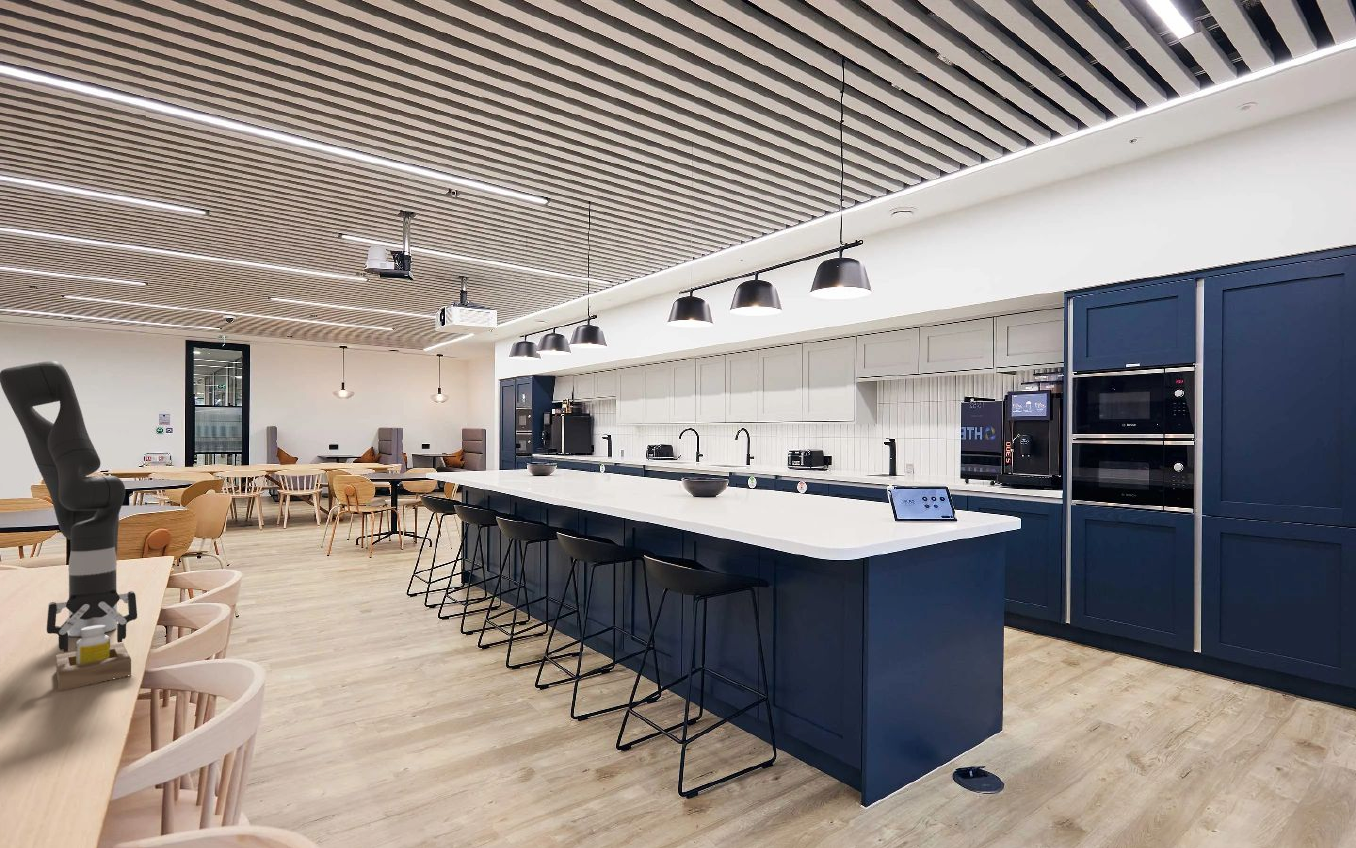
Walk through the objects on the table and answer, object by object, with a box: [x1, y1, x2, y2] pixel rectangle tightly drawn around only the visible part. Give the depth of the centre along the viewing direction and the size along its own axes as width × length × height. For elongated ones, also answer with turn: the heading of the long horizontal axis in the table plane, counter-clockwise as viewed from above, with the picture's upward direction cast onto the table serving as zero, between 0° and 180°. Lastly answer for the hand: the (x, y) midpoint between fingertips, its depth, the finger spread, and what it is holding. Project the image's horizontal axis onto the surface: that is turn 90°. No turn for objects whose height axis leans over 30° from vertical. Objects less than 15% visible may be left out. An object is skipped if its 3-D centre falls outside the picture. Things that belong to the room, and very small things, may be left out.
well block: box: [55, 642, 132, 692], centre depth 138 cm, size 16×11×4 cm
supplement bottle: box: [75, 625, 111, 665], centre depth 138 cm, size 5×5×10 cm
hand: (93, 646), depth 138 cm, fingers open, 8 cm apart
